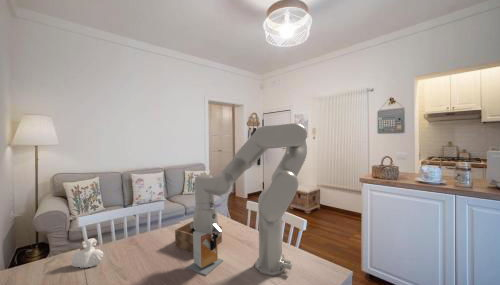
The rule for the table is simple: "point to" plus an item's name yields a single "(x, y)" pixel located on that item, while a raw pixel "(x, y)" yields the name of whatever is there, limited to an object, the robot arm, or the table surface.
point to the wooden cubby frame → (188, 237)
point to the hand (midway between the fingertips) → (205, 246)
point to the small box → (203, 249)
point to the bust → (87, 255)
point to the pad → (206, 269)
